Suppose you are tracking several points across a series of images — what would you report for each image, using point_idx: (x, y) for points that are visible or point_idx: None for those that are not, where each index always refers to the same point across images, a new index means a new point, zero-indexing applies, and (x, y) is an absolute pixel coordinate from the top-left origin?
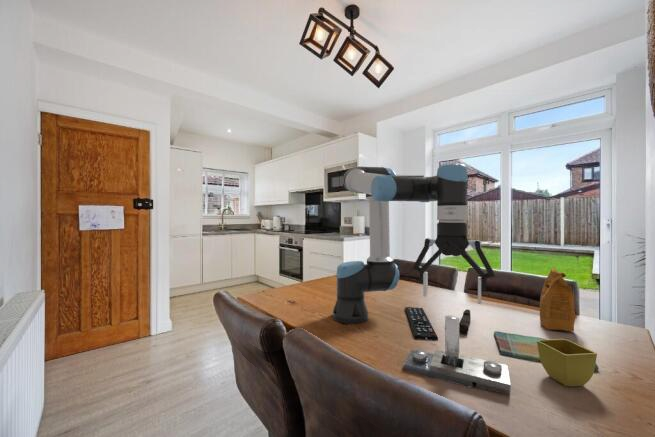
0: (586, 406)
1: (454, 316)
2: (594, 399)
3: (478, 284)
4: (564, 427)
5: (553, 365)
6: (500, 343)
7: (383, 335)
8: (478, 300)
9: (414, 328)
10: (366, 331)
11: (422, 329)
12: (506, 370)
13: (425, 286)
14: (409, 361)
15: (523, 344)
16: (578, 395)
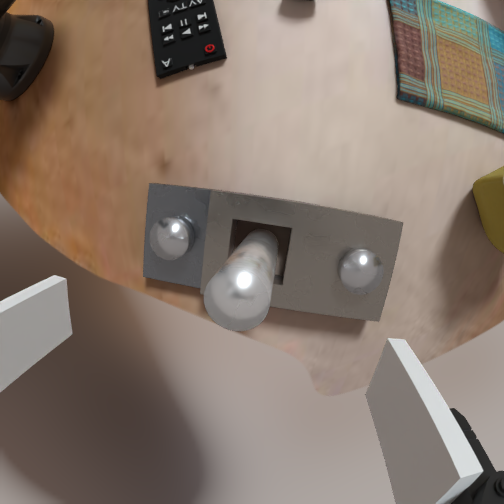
0: (480, 285)
1: (248, 279)
2: (500, 256)
3: (396, 494)
4: (419, 358)
5: (491, 222)
6: (404, 50)
7: (84, 106)
8: (373, 407)
9: (156, 29)
10: (50, 108)
11: (179, 24)
12: (393, 255)
13: (31, 362)
14: (153, 258)
15: (450, 44)
16: (487, 252)
